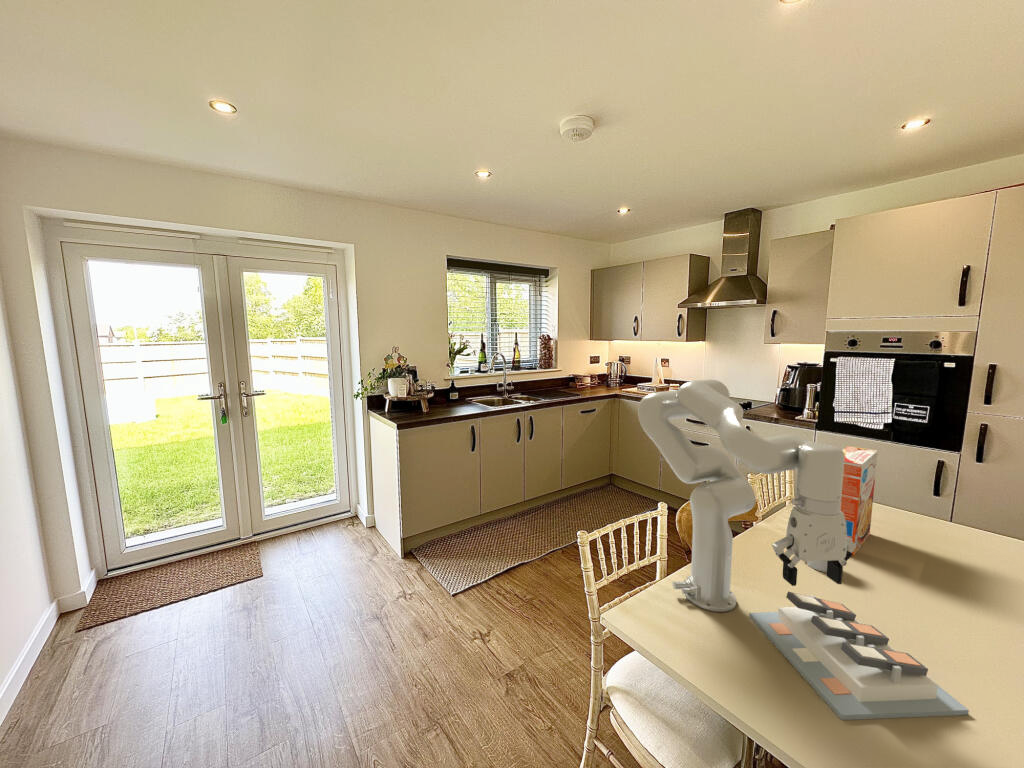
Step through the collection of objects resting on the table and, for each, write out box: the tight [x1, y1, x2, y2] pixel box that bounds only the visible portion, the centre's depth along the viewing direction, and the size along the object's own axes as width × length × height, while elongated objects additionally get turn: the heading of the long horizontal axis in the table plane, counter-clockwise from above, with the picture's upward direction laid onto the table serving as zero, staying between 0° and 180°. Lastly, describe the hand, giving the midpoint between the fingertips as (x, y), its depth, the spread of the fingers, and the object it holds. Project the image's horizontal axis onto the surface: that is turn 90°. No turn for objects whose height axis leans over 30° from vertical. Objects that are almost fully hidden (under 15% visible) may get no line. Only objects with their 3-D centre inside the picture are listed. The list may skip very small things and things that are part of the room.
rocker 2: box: [811, 616, 890, 645], centre depth 89 cm, size 14×4×2 cm, turn 92°
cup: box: [805, 561, 828, 573], centre depth 126 cm, size 7×10×9 cm
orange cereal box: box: [840, 445, 878, 557], centre depth 139 cm, size 23×8×30 cm, turn 130°
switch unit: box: [748, 595, 970, 721], centre depth 89 cm, size 24×28×7 cm
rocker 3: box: [841, 642, 929, 676], centre depth 81 cm, size 14×4×2 cm, turn 92°
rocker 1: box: [785, 591, 857, 621], centre depth 97 cm, size 14×4×2 cm, turn 92°
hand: (811, 581), depth 87 cm, fingers open, 9 cm apart
